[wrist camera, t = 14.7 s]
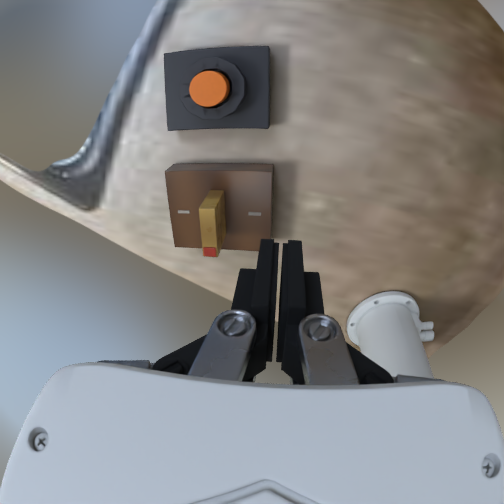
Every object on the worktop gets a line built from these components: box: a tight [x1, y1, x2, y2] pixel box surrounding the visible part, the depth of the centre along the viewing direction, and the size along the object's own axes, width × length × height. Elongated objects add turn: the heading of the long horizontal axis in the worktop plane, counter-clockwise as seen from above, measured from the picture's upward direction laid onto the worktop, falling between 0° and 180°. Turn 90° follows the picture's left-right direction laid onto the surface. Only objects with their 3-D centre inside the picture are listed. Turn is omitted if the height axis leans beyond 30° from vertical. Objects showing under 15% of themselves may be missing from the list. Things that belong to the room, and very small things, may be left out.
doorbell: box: [164, 46, 270, 131], centre depth 27 cm, size 11×9×4 cm
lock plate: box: [165, 163, 273, 251], centre depth 35 cm, size 12×10×3 cm
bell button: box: [189, 71, 230, 107], centre depth 25 cm, size 4×4×2 cm
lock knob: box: [199, 190, 226, 257], centre depth 31 cm, size 6×2×5 cm, turn 0°
